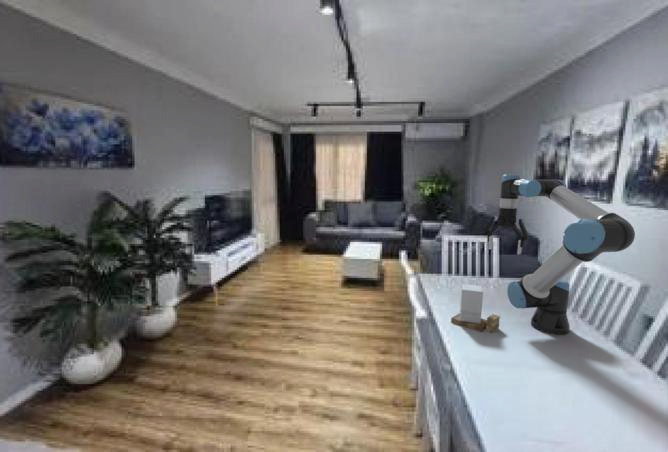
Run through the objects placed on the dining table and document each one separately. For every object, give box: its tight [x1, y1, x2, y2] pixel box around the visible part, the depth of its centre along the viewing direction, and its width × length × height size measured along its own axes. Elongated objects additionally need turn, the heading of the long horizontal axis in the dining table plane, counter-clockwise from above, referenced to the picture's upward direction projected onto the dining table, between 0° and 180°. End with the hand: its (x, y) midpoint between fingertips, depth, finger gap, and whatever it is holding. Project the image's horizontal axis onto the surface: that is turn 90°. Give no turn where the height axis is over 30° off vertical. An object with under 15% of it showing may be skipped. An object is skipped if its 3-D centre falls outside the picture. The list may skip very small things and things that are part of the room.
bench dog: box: [485, 313, 501, 334], centre depth 163 cm, size 3×6×6 cm, turn 134°
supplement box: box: [459, 283, 484, 323], centre depth 168 cm, size 9×9×15 cm
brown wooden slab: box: [450, 312, 487, 333], centre depth 169 cm, size 14×10×3 cm
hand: (504, 251), depth 176 cm, fingers open, 13 cm apart
